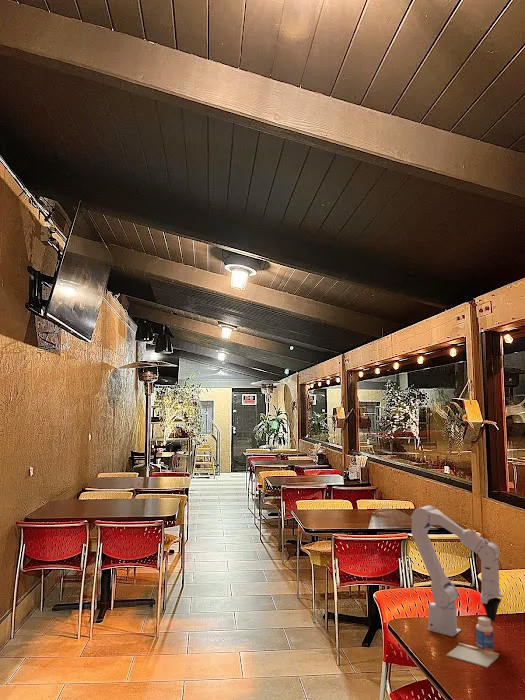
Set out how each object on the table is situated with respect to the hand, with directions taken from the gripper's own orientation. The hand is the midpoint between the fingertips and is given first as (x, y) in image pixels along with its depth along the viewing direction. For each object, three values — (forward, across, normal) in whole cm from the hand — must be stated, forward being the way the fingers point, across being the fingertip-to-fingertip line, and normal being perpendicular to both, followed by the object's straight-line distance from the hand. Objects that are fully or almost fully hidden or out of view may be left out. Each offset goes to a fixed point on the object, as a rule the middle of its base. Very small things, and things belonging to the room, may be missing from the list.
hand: (491, 620), depth 194 cm
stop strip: (+7, -11, +1) cm, 13 cm away
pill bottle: (+8, -7, 0) cm, 10 cm away
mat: (+7, -16, +1) cm, 18 cm away
